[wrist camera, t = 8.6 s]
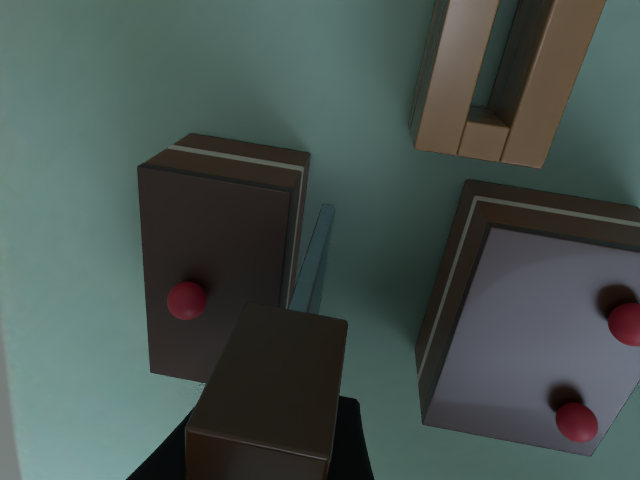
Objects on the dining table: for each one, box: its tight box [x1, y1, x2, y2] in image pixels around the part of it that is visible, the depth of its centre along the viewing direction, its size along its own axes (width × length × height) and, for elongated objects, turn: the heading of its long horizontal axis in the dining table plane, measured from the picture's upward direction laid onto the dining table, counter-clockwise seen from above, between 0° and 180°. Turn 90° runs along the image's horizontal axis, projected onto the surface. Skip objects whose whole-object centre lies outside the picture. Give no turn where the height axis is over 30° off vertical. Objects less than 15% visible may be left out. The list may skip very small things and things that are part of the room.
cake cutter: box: [185, 204, 348, 480], centre depth 11 cm, size 2×7×8 cm, turn 172°
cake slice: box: [137, 134, 311, 383], centre depth 16 cm, size 4×8×5 cm, turn 172°
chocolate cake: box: [415, 179, 640, 456], centre depth 15 cm, size 6×8×5 cm
